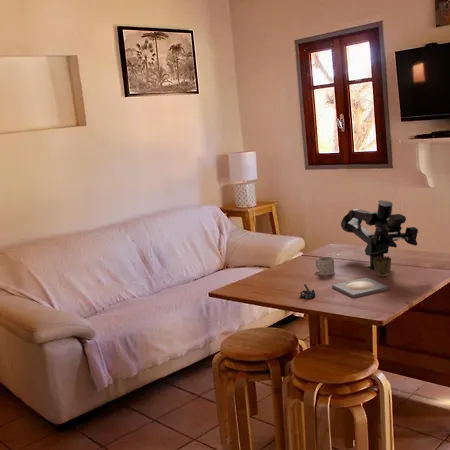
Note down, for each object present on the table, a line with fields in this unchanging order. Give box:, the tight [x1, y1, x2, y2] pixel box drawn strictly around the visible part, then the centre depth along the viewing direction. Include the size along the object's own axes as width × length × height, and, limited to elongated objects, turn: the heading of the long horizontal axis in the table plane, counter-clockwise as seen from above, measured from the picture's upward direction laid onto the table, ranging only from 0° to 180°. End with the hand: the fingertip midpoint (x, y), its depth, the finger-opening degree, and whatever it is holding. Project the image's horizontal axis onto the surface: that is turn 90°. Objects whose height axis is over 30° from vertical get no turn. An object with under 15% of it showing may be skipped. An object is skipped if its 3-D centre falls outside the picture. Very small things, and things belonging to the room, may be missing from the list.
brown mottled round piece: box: [373, 255, 392, 279], centre depth 244 cm, size 8×7×8 cm
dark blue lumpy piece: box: [299, 283, 317, 301], centre depth 229 cm, size 8×7×8 cm
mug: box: [315, 256, 336, 277], centre depth 259 cm, size 10×7×7 cm
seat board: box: [331, 277, 390, 299], centre depth 232 cm, size 16×16×1 cm
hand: (406, 245), depth 232 cm, fingers open, 9 cm apart
